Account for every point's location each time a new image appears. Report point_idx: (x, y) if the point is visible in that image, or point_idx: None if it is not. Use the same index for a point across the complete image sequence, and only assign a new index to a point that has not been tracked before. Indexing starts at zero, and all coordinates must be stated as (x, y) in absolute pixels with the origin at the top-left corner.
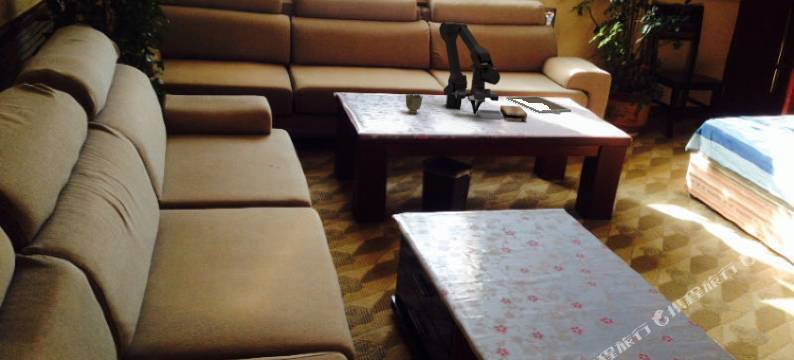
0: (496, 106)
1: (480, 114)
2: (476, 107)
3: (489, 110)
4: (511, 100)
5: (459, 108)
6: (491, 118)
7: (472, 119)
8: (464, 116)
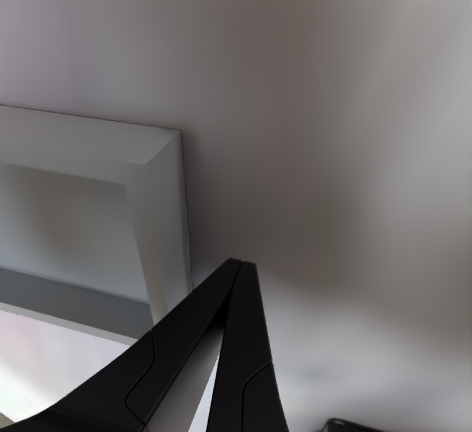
0: (55, 394)
1: (160, 195)
2: (194, 347)
3: (46, 312)
4: (3, 423)
5: (339, 429)
6: (16, 111)
7: (364, 44)
8: (428, 236)
